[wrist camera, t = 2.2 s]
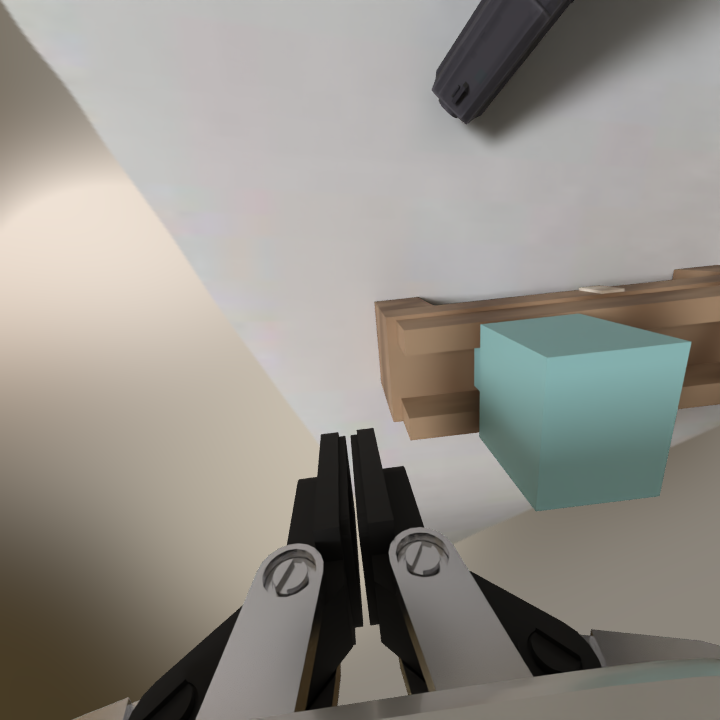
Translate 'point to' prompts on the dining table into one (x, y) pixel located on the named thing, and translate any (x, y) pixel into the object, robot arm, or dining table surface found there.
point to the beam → (462, 320)
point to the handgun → (491, 52)
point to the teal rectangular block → (579, 407)
